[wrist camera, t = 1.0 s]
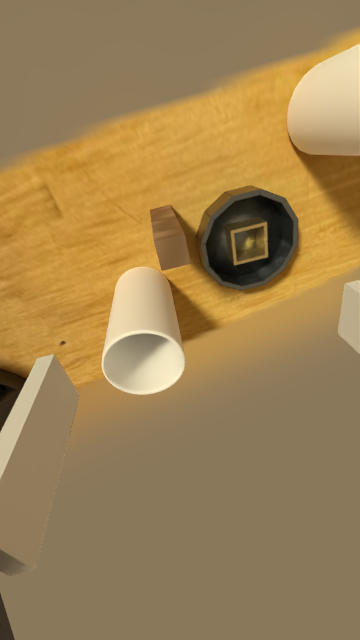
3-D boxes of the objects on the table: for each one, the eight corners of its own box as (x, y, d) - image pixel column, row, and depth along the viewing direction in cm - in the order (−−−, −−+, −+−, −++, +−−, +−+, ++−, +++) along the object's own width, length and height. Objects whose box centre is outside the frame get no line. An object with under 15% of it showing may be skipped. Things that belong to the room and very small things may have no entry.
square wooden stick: (155, 230, 35) (161, 270, 23) (150, 209, 34) (154, 241, 22) (174, 225, 35) (190, 263, 23) (170, 204, 34) (184, 234, 22)
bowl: (205, 287, 40) (209, 298, 38) (189, 200, 34) (194, 205, 31) (285, 267, 40) (296, 276, 37) (285, 176, 34) (299, 179, 31)
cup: (176, 309, 42) (192, 383, 29) (126, 322, 42) (118, 402, 29) (163, 260, 37) (174, 321, 24) (106, 275, 38) (87, 344, 24)
